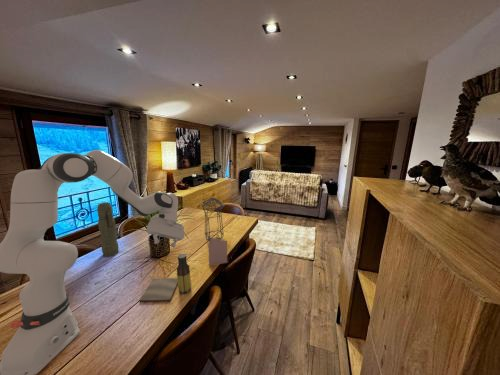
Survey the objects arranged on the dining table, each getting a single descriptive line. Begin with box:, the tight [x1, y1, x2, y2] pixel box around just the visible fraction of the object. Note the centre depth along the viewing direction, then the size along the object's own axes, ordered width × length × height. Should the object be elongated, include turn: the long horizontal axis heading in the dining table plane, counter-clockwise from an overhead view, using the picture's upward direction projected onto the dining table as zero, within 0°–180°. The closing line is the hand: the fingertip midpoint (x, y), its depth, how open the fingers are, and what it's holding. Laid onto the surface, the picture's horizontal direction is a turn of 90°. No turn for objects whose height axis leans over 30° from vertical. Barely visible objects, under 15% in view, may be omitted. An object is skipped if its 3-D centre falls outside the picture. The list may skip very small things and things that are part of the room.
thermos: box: [96, 202, 120, 258], centre depth 127 cm, size 9×12×35 cm
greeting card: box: [208, 237, 228, 266], centre depth 121 cm, size 11×7×15 cm, turn 74°
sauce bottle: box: [176, 253, 192, 296], centre depth 97 cm, size 6×6×20 cm
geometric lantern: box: [200, 197, 225, 244], centre depth 148 cm, size 16×16×35 cm
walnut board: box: [139, 278, 178, 303], centre depth 99 cm, size 15×14×1 cm
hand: (165, 245), depth 99 cm, fingers open, 8 cm apart
